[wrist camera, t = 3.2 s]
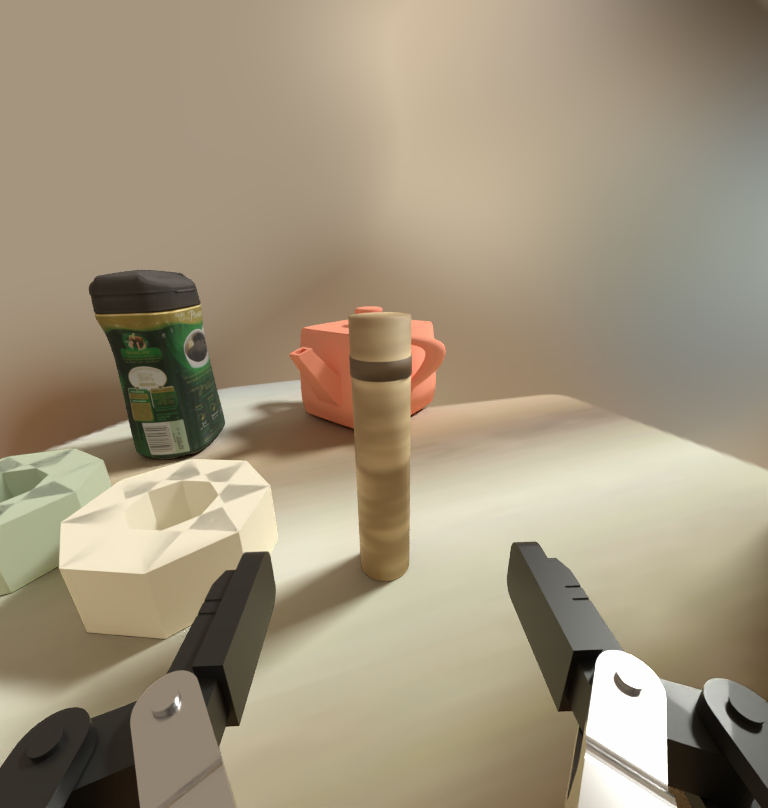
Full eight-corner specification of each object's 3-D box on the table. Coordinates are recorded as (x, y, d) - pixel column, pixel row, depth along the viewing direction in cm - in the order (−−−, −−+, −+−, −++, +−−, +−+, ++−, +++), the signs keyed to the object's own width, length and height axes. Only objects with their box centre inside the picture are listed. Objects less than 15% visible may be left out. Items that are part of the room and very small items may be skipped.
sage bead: (141, 518, 28) (126, 469, 27) (-68, 638, 19) (-111, 574, 18) (72, 483, 33) (56, 440, 32) (-121, 566, 24) (-158, 511, 22)
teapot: (351, 382, 62) (346, 299, 57) (468, 410, 49) (476, 305, 44) (247, 419, 47) (229, 311, 42) (376, 472, 34) (372, 326, 29)
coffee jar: (171, 425, 46) (132, 270, 39) (234, 423, 46) (206, 269, 39) (122, 464, 36) (60, 271, 30) (200, 461, 37) (156, 269, 30)
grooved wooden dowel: (420, 563, 23) (426, 315, 18) (381, 591, 22) (374, 322, 16) (387, 536, 26) (384, 310, 20) (350, 559, 24) (334, 316, 18)
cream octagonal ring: (299, 564, 24) (291, 508, 22) (89, 681, 17) (57, 612, 15) (241, 491, 32) (232, 446, 30) (83, 551, 25) (61, 498, 23)
